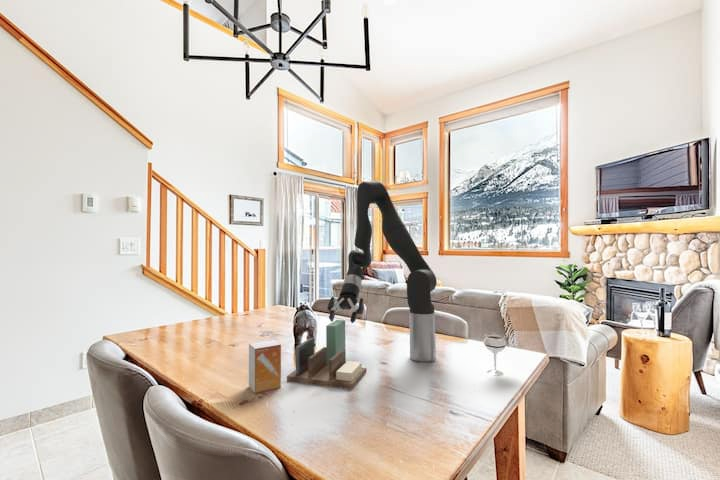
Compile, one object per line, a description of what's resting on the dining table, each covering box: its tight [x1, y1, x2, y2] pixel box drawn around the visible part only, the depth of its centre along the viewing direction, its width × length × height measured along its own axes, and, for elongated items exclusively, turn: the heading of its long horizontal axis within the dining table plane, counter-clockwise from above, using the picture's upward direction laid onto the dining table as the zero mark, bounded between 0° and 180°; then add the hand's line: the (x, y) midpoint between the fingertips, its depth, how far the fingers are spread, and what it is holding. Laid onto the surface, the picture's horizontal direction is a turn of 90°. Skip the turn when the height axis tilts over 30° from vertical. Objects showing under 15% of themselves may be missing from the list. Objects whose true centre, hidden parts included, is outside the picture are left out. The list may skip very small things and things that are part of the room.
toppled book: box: [336, 360, 363, 381], centre depth 109 cm, size 5×10×2 cm, turn 162°
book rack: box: [286, 346, 367, 390], centre depth 111 cm, size 22×14×8 cm, turn 72°
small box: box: [248, 339, 282, 394], centre depth 104 cm, size 8×6×13 cm
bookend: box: [295, 337, 315, 376], centre depth 114 cm, size 1×11×9 cm, turn 162°
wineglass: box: [483, 333, 507, 376], centre depth 113 cm, size 7×7×12 cm
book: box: [325, 319, 346, 364], centre depth 126 cm, size 4×10×14 cm, turn 162°
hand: (341, 321), depth 132 cm, fingers open, 8 cm apart
